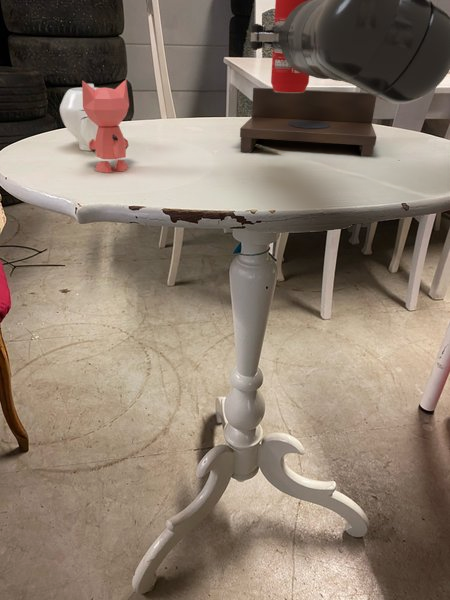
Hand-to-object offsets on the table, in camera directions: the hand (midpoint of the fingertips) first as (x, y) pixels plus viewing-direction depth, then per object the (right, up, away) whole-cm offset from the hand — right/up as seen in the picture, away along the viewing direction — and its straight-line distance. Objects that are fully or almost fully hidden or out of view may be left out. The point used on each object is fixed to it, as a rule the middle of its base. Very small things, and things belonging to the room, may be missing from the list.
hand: (289, 37), depth 64 cm
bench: (+6, -9, +19) cm, 22 cm away
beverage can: (0, -7, +1) cm, 7 cm away
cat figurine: (-25, -17, +4) cm, 31 cm away
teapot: (-31, -10, +16) cm, 37 cm away
